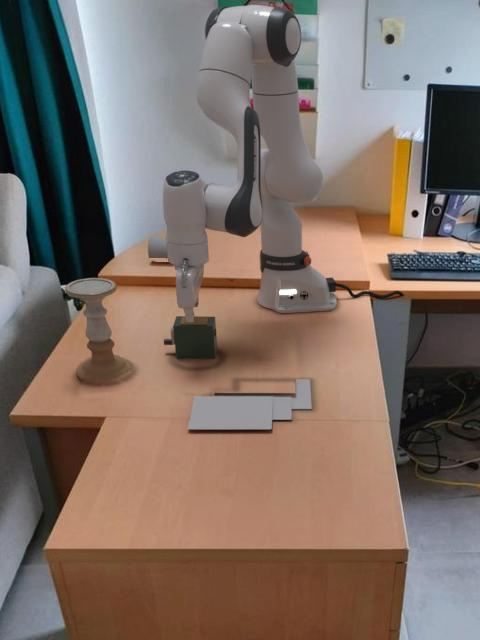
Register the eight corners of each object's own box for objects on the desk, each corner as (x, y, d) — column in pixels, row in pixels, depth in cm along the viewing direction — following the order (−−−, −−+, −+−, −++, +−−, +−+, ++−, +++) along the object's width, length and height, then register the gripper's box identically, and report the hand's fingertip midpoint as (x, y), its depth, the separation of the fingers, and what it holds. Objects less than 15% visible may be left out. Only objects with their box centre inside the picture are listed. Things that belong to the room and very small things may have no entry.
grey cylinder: (175, 266, 225) (173, 241, 220) (148, 265, 224) (146, 240, 220) (181, 256, 233) (179, 232, 229) (155, 255, 233) (153, 231, 229)
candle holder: (143, 365, 167) (131, 279, 155) (116, 388, 157) (102, 299, 145) (95, 357, 169) (80, 273, 158) (66, 380, 159) (47, 291, 148)
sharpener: (218, 348, 173) (216, 315, 168) (216, 358, 168) (214, 325, 164) (167, 347, 172) (163, 315, 168) (163, 358, 167) (159, 325, 163)
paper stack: (199, 379, 162) (198, 376, 161) (310, 379, 164) (310, 376, 163) (187, 432, 143) (187, 429, 142) (313, 432, 145) (313, 429, 144)
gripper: (197, 268, 148) (201, 331, 156) (206, 240, 165) (210, 298, 173) (166, 267, 148) (172, 330, 156) (179, 239, 165) (183, 297, 172)
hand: (192, 313), depth 164 cm, fingers open, 8 cm apart
